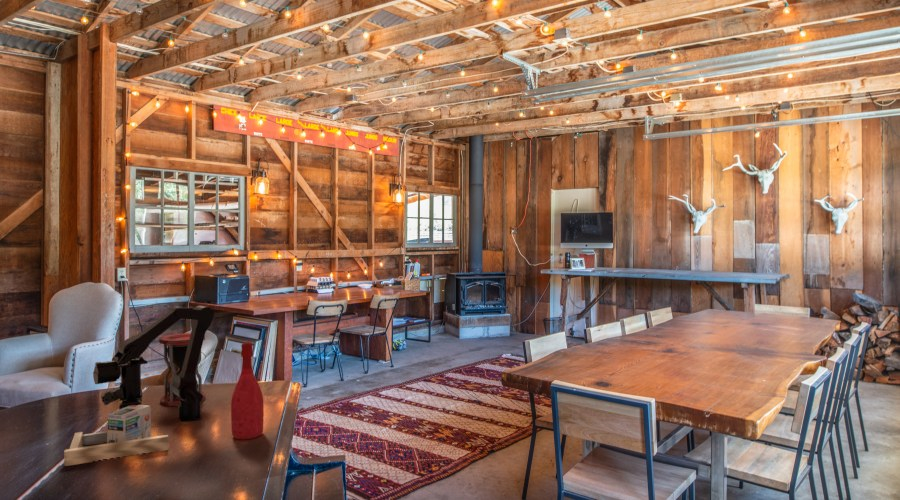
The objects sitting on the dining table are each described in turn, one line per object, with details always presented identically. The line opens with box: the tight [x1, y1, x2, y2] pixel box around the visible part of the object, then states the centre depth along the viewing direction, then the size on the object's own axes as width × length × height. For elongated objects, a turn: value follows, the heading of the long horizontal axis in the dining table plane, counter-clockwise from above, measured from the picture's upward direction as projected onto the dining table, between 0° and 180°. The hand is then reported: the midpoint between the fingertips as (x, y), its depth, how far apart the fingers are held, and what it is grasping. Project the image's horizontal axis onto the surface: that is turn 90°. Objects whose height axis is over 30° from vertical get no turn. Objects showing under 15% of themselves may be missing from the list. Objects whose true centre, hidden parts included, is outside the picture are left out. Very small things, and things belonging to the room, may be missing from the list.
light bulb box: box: [107, 404, 152, 443], centre depth 178 cm, size 11×7×11 cm, turn 167°
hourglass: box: [158, 332, 206, 407], centre depth 225 cm, size 16×16×25 cm
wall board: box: [63, 431, 169, 467], centre depth 175 cm, size 26×17×4 cm, turn 118°
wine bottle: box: [230, 341, 265, 440], centre depth 185 cm, size 10×10×30 cm
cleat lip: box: [82, 430, 108, 447], centre depth 179 cm, size 6×2×3 cm, turn 118°
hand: (131, 425), depth 190 cm, fingers open, 8 cm apart
